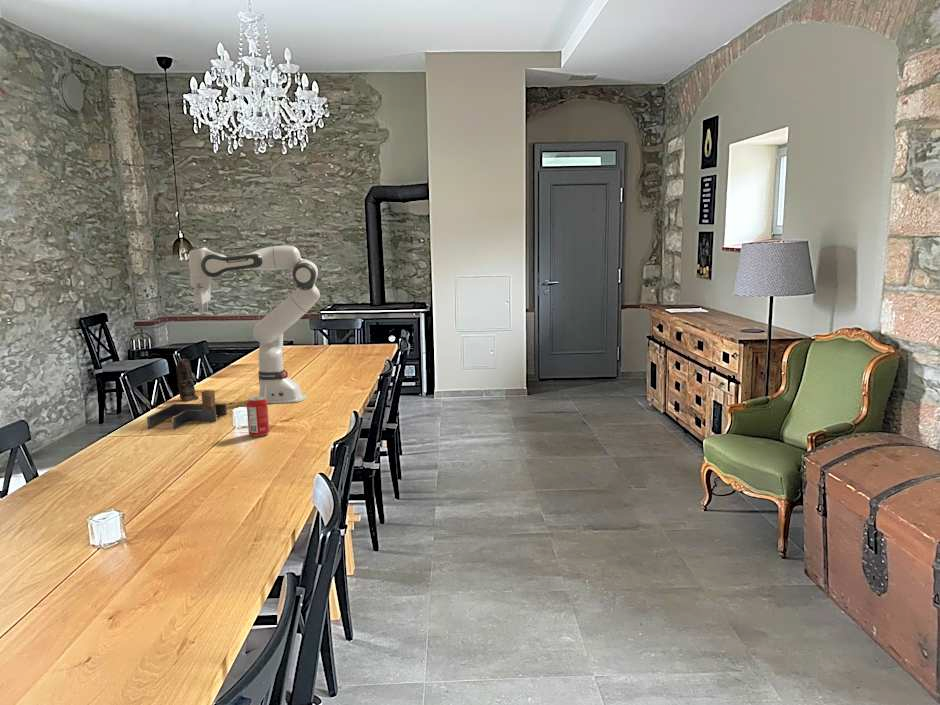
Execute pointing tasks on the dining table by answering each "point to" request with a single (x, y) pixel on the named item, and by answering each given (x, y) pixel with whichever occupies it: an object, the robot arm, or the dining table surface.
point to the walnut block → (208, 400)
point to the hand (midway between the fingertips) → (203, 312)
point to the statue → (185, 380)
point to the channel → (185, 414)
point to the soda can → (257, 416)
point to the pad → (165, 425)
